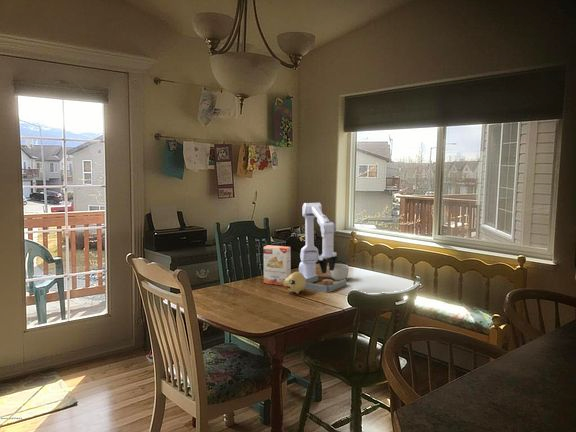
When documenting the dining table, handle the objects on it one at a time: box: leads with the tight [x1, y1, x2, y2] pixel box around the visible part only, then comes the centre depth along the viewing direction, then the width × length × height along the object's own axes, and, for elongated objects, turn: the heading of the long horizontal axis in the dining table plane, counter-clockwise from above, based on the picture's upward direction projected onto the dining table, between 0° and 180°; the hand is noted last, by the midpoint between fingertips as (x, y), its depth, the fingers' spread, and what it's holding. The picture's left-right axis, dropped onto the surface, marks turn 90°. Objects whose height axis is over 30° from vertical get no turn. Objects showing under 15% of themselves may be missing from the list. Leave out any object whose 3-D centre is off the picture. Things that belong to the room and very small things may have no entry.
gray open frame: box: [305, 274, 347, 293], centre depth 247 cm, size 19×19×3 cm
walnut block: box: [322, 278, 334, 286], centre depth 240 cm, size 4×4×5 cm
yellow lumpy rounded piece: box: [283, 271, 306, 295], centre depth 234 cm, size 10×12×11 cm
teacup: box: [325, 263, 349, 281], centre depth 262 cm, size 14×11×8 cm
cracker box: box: [263, 244, 292, 287], centre depth 251 cm, size 14×6×21 cm, turn 68°
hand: (327, 271), depth 239 cm, fingers open, 7 cm apart
